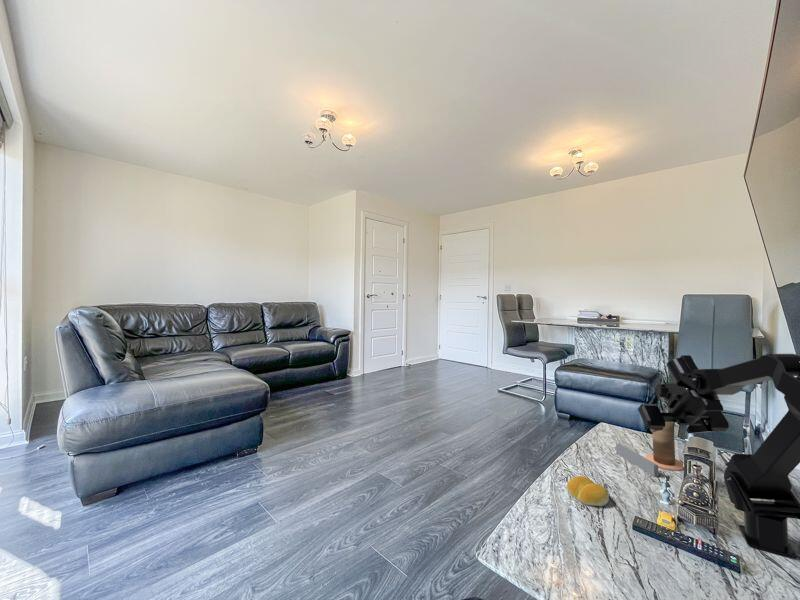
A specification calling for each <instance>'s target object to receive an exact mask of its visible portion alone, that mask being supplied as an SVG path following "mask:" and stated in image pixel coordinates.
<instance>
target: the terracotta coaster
mask: <svg viewBox="0 0 800 600" xmlns="http://www.w3.org/2000/svg"><path fill="white" fill-rule="evenodd" d="M644 458H646V459H648V460H650V461H651V462H653V463H655V464H657V465H658V469H663V470H666V471H667V470H668V471H676V472H677V471H682V470H684V469H683V464H684V462H682V461H681V460H679V459H676V458H675V465H673V466H668V465H663V464H660V463H657V462H655V461H654V459H653V453H652V454H647V455H646V456H644Z"/></svg>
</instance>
